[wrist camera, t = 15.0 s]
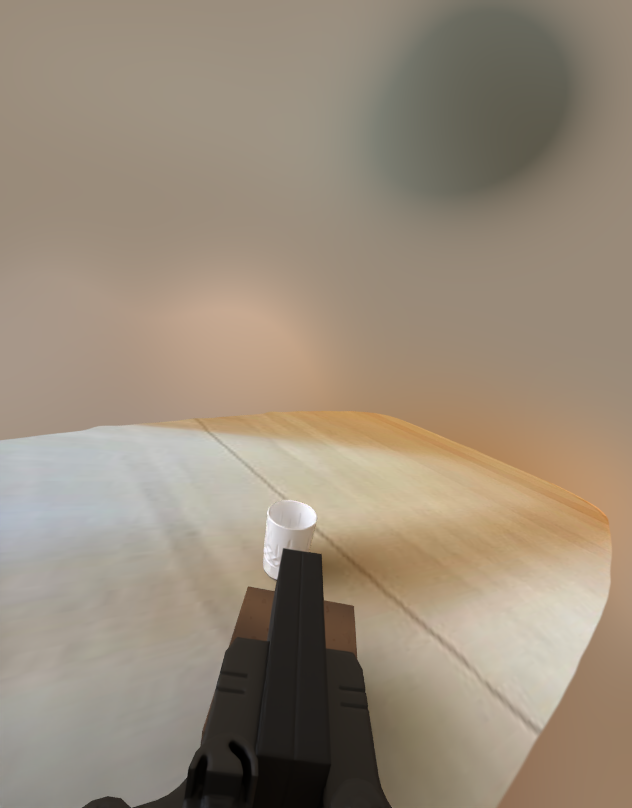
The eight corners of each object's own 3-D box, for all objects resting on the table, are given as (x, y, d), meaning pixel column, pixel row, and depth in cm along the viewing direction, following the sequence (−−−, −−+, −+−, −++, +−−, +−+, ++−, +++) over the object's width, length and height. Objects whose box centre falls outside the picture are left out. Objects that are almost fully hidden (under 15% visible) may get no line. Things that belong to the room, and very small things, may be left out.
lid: (247, 591, 40) (247, 586, 40) (352, 611, 40) (354, 605, 40) (201, 738, 26) (202, 731, 26) (361, 768, 26) (363, 761, 26)
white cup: (314, 561, 59) (324, 510, 57) (294, 593, 52) (305, 536, 49) (274, 543, 62) (282, 494, 59) (249, 571, 55) (257, 516, 52)
